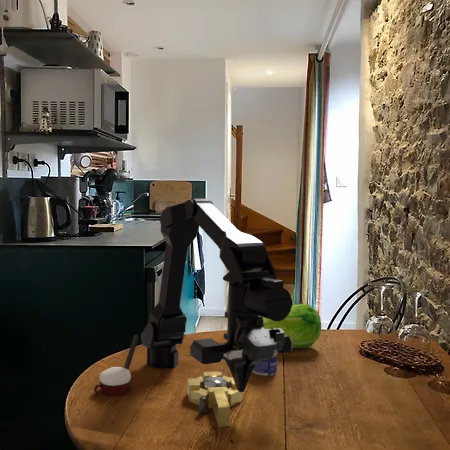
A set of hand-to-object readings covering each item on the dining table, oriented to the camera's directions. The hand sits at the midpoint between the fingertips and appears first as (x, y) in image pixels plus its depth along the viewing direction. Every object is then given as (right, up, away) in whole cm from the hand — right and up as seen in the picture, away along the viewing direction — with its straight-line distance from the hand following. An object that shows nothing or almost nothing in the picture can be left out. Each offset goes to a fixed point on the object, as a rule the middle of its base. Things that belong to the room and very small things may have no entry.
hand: (240, 391), depth 99 cm
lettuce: (+13, -3, +47) cm, 49 cm away
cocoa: (-25, -5, +11) cm, 28 cm away
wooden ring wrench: (-4, -4, +5) cm, 8 cm away
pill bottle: (+6, -5, +24) cm, 25 cm away
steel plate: (-5, -5, +9) cm, 11 cm away
